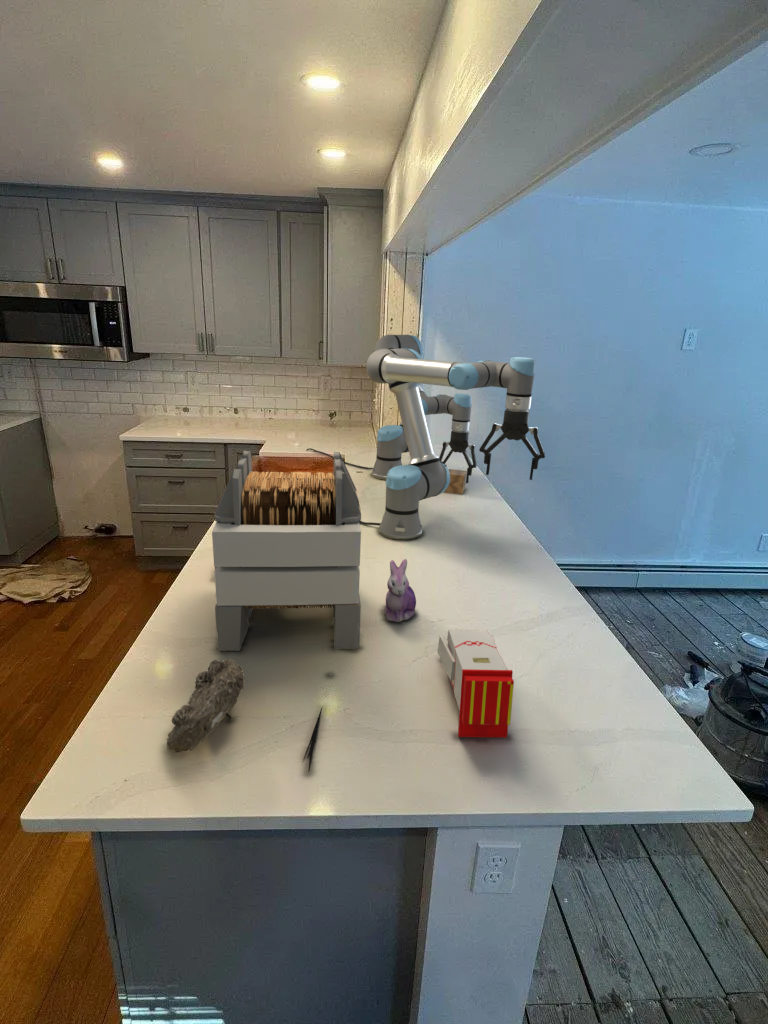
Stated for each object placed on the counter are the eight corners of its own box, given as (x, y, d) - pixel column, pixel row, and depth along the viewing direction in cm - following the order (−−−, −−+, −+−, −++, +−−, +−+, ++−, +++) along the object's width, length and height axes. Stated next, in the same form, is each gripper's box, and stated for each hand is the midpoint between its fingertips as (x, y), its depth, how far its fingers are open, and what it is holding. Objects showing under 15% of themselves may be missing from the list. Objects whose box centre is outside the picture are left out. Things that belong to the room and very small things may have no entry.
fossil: (192, 660, 117) (244, 628, 112) (224, 691, 120) (276, 661, 115) (142, 746, 98) (202, 712, 93) (182, 779, 101) (242, 748, 96)
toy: (488, 613, 130) (523, 677, 101) (484, 667, 133) (517, 744, 104) (435, 612, 130) (455, 676, 101) (432, 666, 133) (451, 743, 103)
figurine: (392, 627, 141) (395, 572, 136) (374, 608, 149) (376, 556, 144) (425, 619, 145) (429, 566, 140) (405, 601, 154) (408, 550, 149)
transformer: (235, 584, 159) (228, 441, 145) (352, 582, 163) (356, 443, 149) (215, 653, 127) (203, 479, 113) (360, 649, 131) (366, 481, 117)
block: (443, 492, 248) (445, 473, 245) (447, 486, 256) (448, 468, 253) (462, 494, 246) (464, 475, 243) (465, 488, 254) (466, 470, 251)
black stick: (331, 679, 122) (336, 673, 122) (307, 777, 96) (313, 769, 95) (324, 675, 122) (329, 669, 121) (298, 772, 95) (304, 764, 95)
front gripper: (474, 408, 173) (468, 474, 180) (559, 415, 167) (549, 484, 174) (477, 404, 180) (471, 468, 187) (559, 411, 174) (549, 477, 181)
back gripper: (432, 430, 241) (429, 480, 249) (485, 435, 236) (479, 486, 243) (436, 426, 248) (432, 476, 256) (487, 431, 243) (481, 481, 250)
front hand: (509, 476), depth 181 cm, fingers open, 13 cm apart
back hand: (455, 481), depth 249 cm, fingers open, 9 cm apart
